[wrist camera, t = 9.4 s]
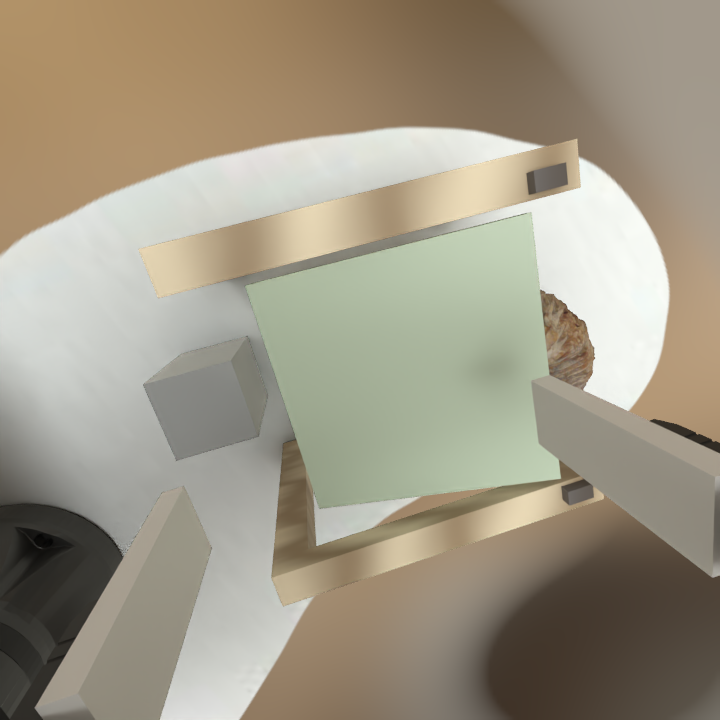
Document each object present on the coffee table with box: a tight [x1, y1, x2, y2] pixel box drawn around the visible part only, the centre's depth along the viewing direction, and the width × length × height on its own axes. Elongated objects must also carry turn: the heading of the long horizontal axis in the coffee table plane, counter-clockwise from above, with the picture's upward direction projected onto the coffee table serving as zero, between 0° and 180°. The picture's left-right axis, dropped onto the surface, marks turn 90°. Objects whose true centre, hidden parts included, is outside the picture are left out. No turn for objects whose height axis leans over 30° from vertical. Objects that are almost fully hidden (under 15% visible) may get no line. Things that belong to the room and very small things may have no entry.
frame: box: [139, 139, 604, 606], centre depth 25 cm, size 19×19×16 cm
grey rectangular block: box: [143, 336, 268, 461], centre depth 28 cm, size 6×6×8 cm
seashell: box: [540, 290, 595, 390], centre depth 33 cm, size 14×10×10 cm
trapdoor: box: [245, 213, 561, 509], centre depth 22 cm, size 14×14×4 cm
